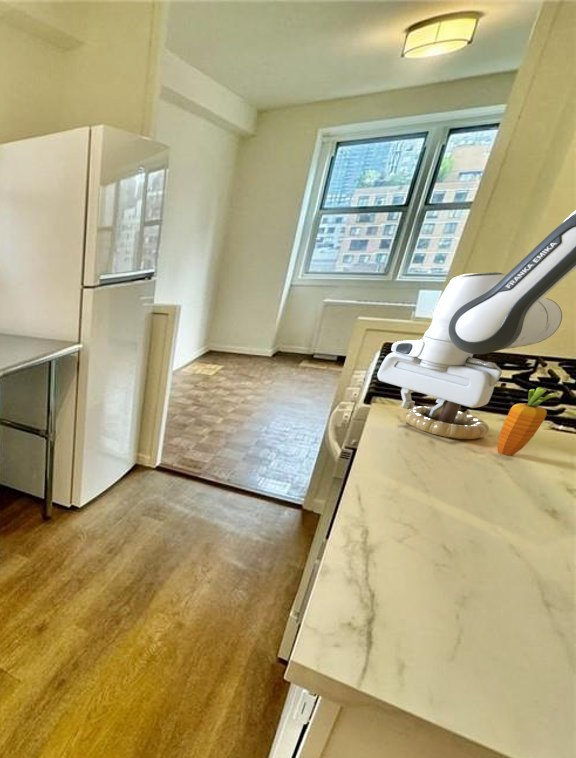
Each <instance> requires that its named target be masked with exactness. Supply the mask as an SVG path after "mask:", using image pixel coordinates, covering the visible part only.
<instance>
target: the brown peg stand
mask: <svg viewBox="0 0 576 758" xmlns="http://www.w3.org/2000/svg"><path fill="white" fill-rule="evenodd" d="M461 406H462V405H460V404H457V403H454V402H450V401H447V402H446V404H445V406H444V407H443V408H444V409H443V411H442V413H441V415H440V417H439V419H438V420H436V421H440V422H445V423H449V424H453V421H454V419H455V417H456V415H457V413H458V411H460V409H461ZM405 424H406V425H409V426H411V425H410V424H408V422H405ZM442 437H444V436H442ZM444 438H446V439H449V440H458V439H457V438H450V437H444Z"/></svg>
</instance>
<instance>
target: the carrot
mask: <svg viewBox="0 0 576 758" xmlns="http://www.w3.org/2000/svg"><path fill="white" fill-rule="evenodd" d="M545 393H547V389H545V388H544V387H537V388H536V389H534V388H532V389H529V390H528V394H527V403H523V402H522V403H516V404H513V405H512V407H510V409H509V411H508V413H507V416H506V417H505V420H504V422H503V425H502V426H501V429H500V432H499V435H498V441H497V453H499V454H500V455H504V456H507V457H509V456H510V457H512V456H514V455H515V454H517V453H518V452H520V451H521V450H522V449H523V448H524V447H525V446H526V445H527V444H528V443H529V442H530V441H531V439H533V437H534V436H535V434H536V433H537V432H538V430H539V428H540V427H541V426H542V424H543V422H544V420H545V419H546V418H547V414H548V413H547V412H548V411H547V409H546V408H544V407H542V406H539V405H540V404H541V403H543V402H545V401H547V400H549V399H553V398H554V399H555V398H557V397H558V395H557V394H556V393H553V394H547V395H546V396H542V395H544V394H545Z"/></svg>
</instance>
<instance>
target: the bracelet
mask: <svg viewBox="0 0 576 758" xmlns="http://www.w3.org/2000/svg"><path fill="white" fill-rule="evenodd" d="M430 407H431V406H427V405H425V406H423V405H422V406H421V405H419V406H413V408H410V409H406V411H405V412H404V415H403V419H404V420H405V421H406V423H408V424H407V425H409V424H410V425H409V426H411V427H413V428H416V429H417V430H420V431H423V432H425V433H429V434H433V435H437V436H440V437H443V436H444V438H446V437H450V438H457V439H456V440H475V439H480V438H484V437H485V436H486V435H488V433H489V430H490V427H489V424H487V423H486V422H485V421H484V420H483V419H482V418H480V417H476V416H475V415H472V414H470V413H466V412H463V411H460V410H459V411H458V413H457V415H456V417H455V419H454V421H453V423H452V424H449V423H445V422H440V421H436V420H438V419H439V417H440V415H441V413H442V411H443V409H444V407H443V408H441V409H439V411H438V413H437V415H436V416H435V417H429V416H426V415H424V413H425V412H426V411H425V410H426V408H430Z"/></svg>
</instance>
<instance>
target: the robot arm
mask: <svg viewBox="0 0 576 758" xmlns="http://www.w3.org/2000/svg"><path fill="white" fill-rule="evenodd" d="M574 270H576V210H574V211H573V212H572V213H571V214H570V215H569V216H568V217H567V218H566V219H565V220H564V221H563V222H562V223H561V224H559V225H558V226H557V227H556V228H555V229H553V230H552V231H551V232H550V233H549V234H548V235H547V236H546V237H545V238H544V239H542V241H540V242H539V244H537V245H536V246H534V248H533V249H532V250H530V252H529V253H528V254H527V255H526V256H524V258H523V259H521V260H520V262H518V263H517V264H516V265H515V266H514V267H513V268H512V269H511V270H510V271H509V272H508V273H507V274H505V273H503V272H496V271H494V272H475V273H464V274H460V275H457V276H455V277H453V278H452V279H451V280H450V281H449V282H448V284H447V285H446V287H445V289H444V290H443V292H442V294H441V295H440V297H439V299H438V301H437V304H436V305H435V308H434V310H433V313H432V317H431V323H430V325H429V327H428V329H426V331H425V332H424V334H423V336H422V338H419V339H412V340H403V341H402V340H401V341H397V342H393V344H392V345H391V348H390V349H391V350H390V351H391V352H390V353H388V354H387V355H386V356H385V357H384V359H383V361H382V362H381V364H380V366H379V369H378V371H377V373H376V374H377V375H376V377H377V380H378V381H380V382H383V383H386V384H390V385H393V386H397V387H400V388H401V390H400V394H401V399H402V402H401V405H400V408H402V409H406V410H408V409H410V408H413V407H414V405H415V403H416V401H415V400H412V393H414V392H417V393H419V394H420V393H421V394H423V395H427V396H430V397H433V398H436V401H435V403H436V405H434V406H429V407H430V408H426V410H425V411H426V412H425V413H424V415H426V416H429V417H435V416H436V415H437V413H438V411H439V409H441V408H444V406H445V404H446V402H447V401H450V402H454V403H457V404H460V405H461V406H464V407H466V408H467V407H468V408H471V409H473V408H474V409H475V408H476V409H477V408H480V407H483V406H486V405H488V404H489V402H490V400H491V398H492V395H493V392H494V389H495V386H496V384H497V383H498V382H499V380H500V378H501V376H502V374H503V373H502V372H503V370H502V369H501V368H500V366H498V365H497V363H495V362H492V361H485V360H481V359H479V358H475V357H473V356H474V355H486V354H490V353H495V352H499V351H501V350H509V349H516V348H519V347H520V348H521V347H526V346H531V345H534V344H538V343H541V342H544V341H546V340H547V339H548V338H551V337H552V336H553V335H554V334H555V333H556V332H557V331H558V330H559V328H560V327H561V324H562V320H563V312H562V309H561V306H559V304H558V303H557V302H556V301H554V300H552V299H551V298H547V297H545V296H546V295H547V294H548V293H550V292H551V291H552V290H553V289H555V287H557V285H559V284H560V283H561V282H562V281H563V280H564V279H566V277H568V276H569V275H570V274H571V273H572V272H574Z"/></svg>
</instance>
